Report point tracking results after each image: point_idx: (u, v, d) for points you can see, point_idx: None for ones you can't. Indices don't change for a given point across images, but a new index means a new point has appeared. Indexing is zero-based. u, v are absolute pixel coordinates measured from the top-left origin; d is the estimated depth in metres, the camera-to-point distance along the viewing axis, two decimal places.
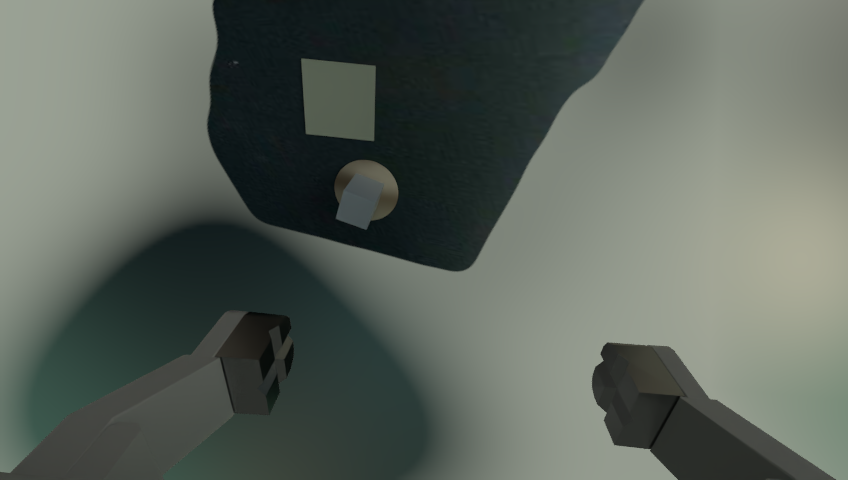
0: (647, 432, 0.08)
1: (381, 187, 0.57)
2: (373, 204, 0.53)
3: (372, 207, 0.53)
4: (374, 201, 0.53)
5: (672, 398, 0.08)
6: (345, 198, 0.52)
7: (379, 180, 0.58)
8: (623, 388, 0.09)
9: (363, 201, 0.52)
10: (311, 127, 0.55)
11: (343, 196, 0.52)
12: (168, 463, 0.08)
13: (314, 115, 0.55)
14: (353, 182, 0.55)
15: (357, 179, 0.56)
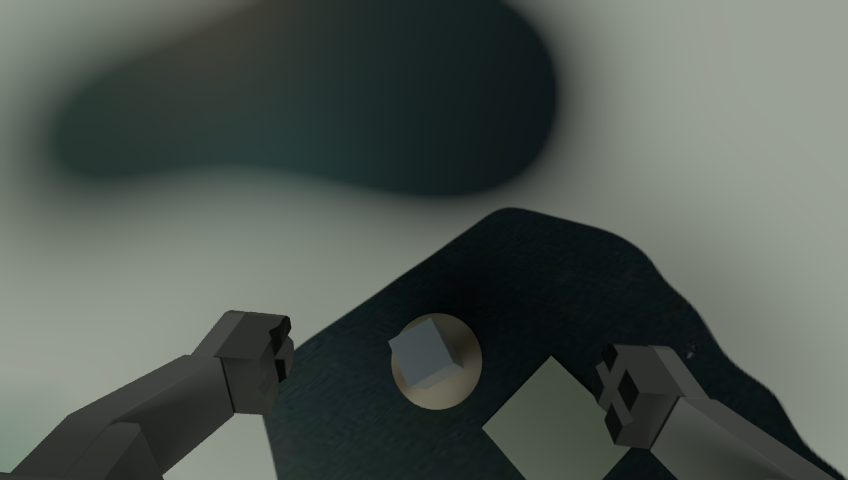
0: (647, 432, 0.09)
1: (424, 388, 0.39)
2: (408, 382, 0.34)
3: (406, 377, 0.34)
4: (410, 386, 0.34)
5: (672, 398, 0.08)
6: (442, 354, 0.34)
7: (434, 387, 0.40)
8: (623, 388, 0.09)
9: (422, 373, 0.34)
10: (553, 369, 0.39)
11: (447, 354, 0.34)
12: (168, 463, 0.08)
13: (563, 386, 0.38)
14: (455, 368, 0.37)
15: (454, 371, 0.39)
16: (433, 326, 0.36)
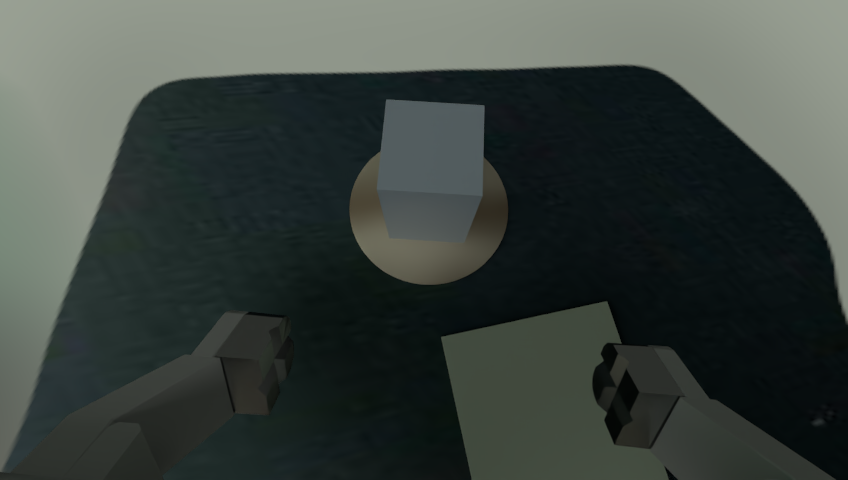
0: (647, 432, 0.09)
1: (390, 229, 0.22)
2: (382, 180, 0.17)
3: (383, 170, 0.17)
4: (382, 190, 0.17)
5: (672, 398, 0.08)
6: (469, 172, 0.17)
7: (403, 242, 0.23)
8: (623, 388, 0.09)
9: (415, 181, 0.17)
10: (598, 321, 0.22)
11: (478, 177, 0.17)
12: (168, 463, 0.08)
13: (599, 353, 0.22)
14: (463, 223, 0.20)
15: (453, 231, 0.21)
16: (480, 121, 0.18)
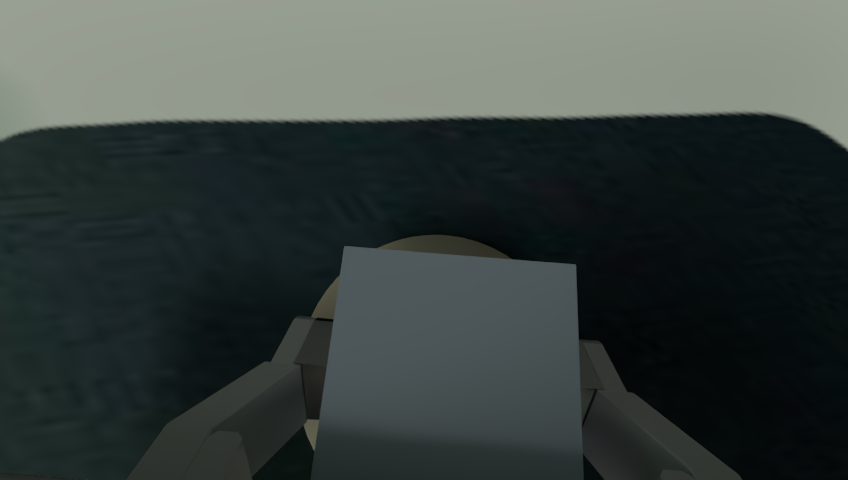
0: None
1: None
2: None
3: (325, 453, 0.07)
4: None
5: (590, 391, 0.08)
6: (547, 460, 0.07)
7: None
8: None
9: None
10: None
11: (571, 477, 0.06)
12: (252, 470, 0.08)
13: None
14: None
15: None
16: (569, 308, 0.07)
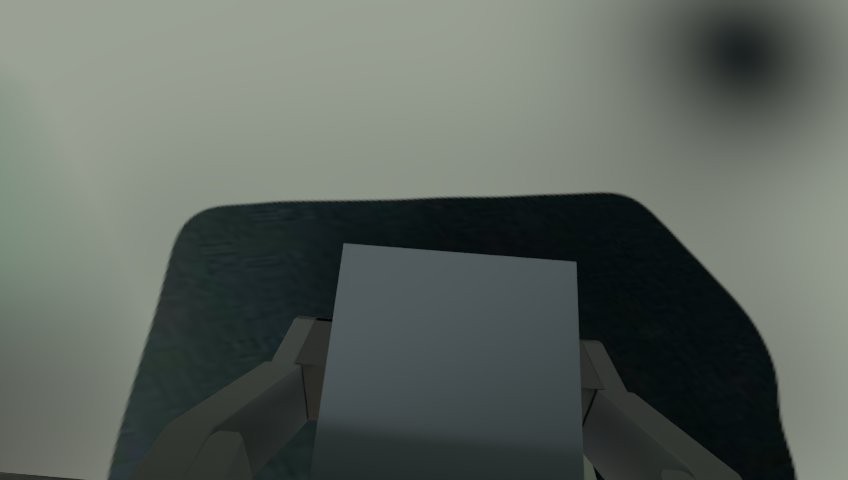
0: None
1: None
2: None
3: (325, 451, 0.07)
4: None
5: (591, 391, 0.08)
6: (548, 457, 0.07)
7: None
8: None
9: None
10: None
11: (572, 475, 0.06)
12: (252, 470, 0.08)
13: None
14: None
15: None
16: (570, 306, 0.07)
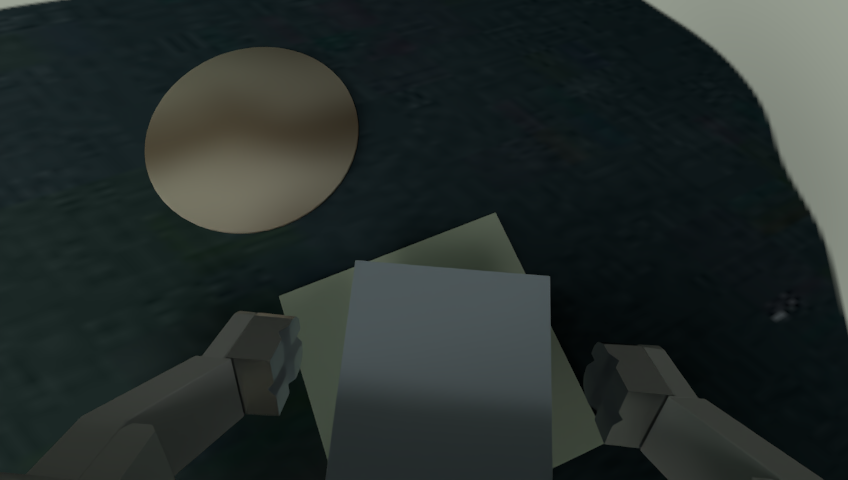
0: (636, 431, 0.09)
1: None
2: (338, 457, 0.08)
3: (341, 432, 0.08)
4: (337, 477, 0.08)
5: (661, 397, 0.08)
6: (523, 438, 0.08)
7: (220, 183, 0.17)
8: (613, 387, 0.09)
9: (407, 460, 0.08)
10: (487, 239, 0.17)
11: (542, 452, 0.08)
12: (179, 464, 0.08)
13: None
14: None
15: None
16: (544, 313, 0.09)
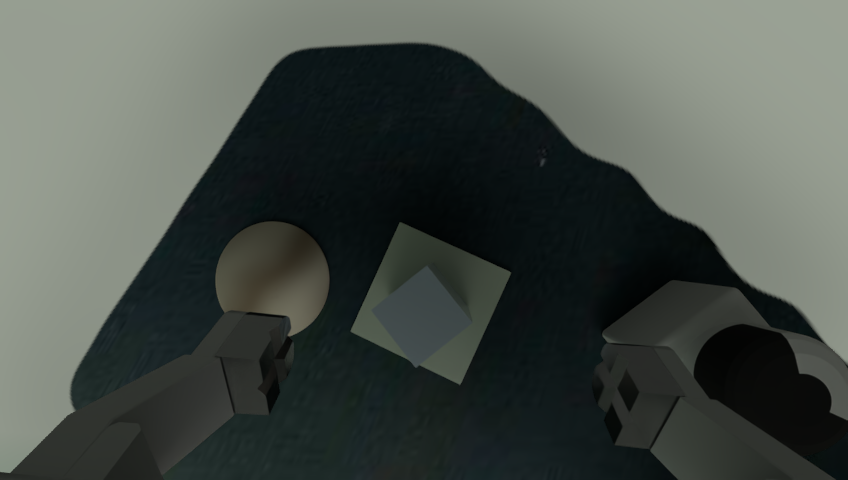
0: (647, 432, 0.08)
1: None
2: (413, 360, 0.24)
3: (409, 354, 0.24)
4: None
5: (672, 398, 0.08)
6: (454, 314, 0.24)
7: (282, 312, 0.32)
8: (623, 388, 0.09)
9: (430, 345, 0.24)
10: (406, 236, 0.32)
11: (461, 313, 0.24)
12: (168, 463, 0.08)
13: (422, 251, 0.32)
14: None
15: None
16: (433, 277, 0.24)
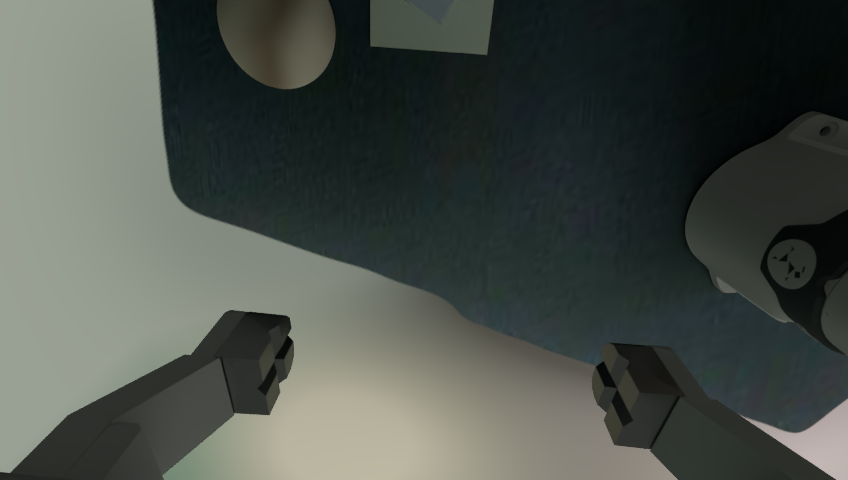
0: (647, 432, 0.08)
1: (442, 22, 0.30)
2: (436, 16, 0.25)
3: (430, 11, 0.25)
4: (441, 19, 0.25)
5: (672, 398, 0.08)
6: None
7: (302, 54, 0.33)
8: (623, 388, 0.09)
9: None
10: None
11: None
12: (168, 463, 0.08)
13: None
14: None
15: None
16: None
